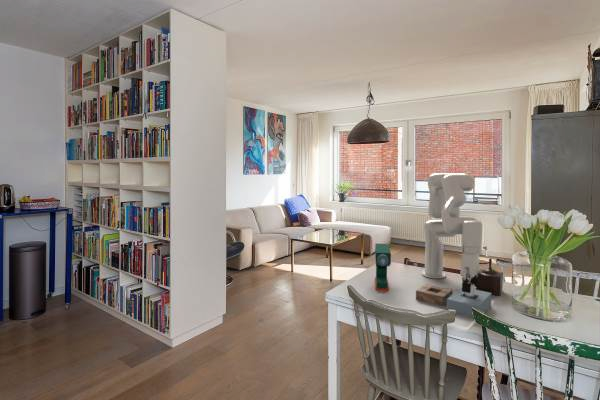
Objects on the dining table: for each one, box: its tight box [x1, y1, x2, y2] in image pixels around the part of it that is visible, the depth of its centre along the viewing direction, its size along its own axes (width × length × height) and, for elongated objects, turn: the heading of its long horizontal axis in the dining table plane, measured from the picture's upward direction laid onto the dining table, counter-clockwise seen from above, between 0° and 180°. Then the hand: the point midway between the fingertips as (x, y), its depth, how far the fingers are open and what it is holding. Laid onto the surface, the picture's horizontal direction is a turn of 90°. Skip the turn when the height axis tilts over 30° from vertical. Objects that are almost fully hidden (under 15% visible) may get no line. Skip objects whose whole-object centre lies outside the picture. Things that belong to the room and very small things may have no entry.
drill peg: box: [465, 283, 476, 299], centre depth 147 cm, size 4×4×10 cm
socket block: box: [415, 283, 454, 307], centre depth 157 cm, size 12×12×5 cm
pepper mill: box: [475, 258, 504, 297], centre depth 170 cm, size 16×11×18 cm
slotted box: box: [446, 287, 492, 318], centre depth 147 cm, size 20×12×6 cm, turn 138°
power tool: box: [374, 242, 392, 292], centre depth 173 cm, size 32×7×20 cm, turn 168°
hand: (469, 289), depth 147 cm, fingers open, 9 cm apart
